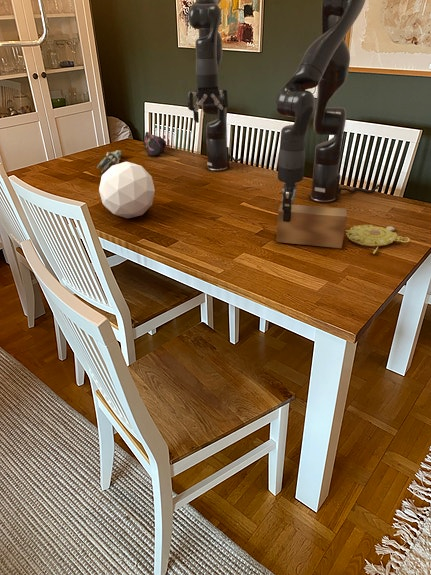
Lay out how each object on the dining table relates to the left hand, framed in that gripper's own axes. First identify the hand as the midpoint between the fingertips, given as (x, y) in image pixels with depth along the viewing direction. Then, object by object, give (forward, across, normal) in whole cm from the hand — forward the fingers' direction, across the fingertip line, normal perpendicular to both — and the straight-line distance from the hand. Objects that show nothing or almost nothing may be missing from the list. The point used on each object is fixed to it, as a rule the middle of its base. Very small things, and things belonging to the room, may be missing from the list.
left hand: (208, 121), depth 161 cm
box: (+28, +18, -50) cm, 60 cm away
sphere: (+29, -33, -8) cm, 45 cm away
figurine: (+29, -34, +56) cm, 72 cm away
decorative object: (+29, +38, -55) cm, 73 cm away
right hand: (+20, +12, -46) cm, 52 cm away
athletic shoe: (+29, -9, +71) cm, 77 cm away
